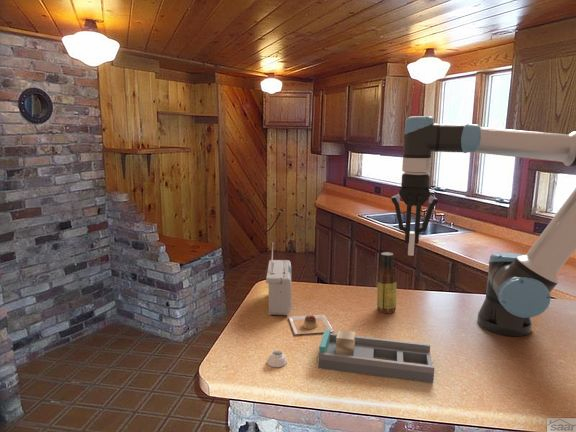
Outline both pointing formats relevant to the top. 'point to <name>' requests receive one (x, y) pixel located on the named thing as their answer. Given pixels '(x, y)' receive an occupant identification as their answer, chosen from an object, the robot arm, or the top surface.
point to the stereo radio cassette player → (279, 286)
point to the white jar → (277, 359)
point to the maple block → (345, 342)
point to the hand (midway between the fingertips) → (410, 254)
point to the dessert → (310, 322)
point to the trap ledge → (382, 349)
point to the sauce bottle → (386, 284)
